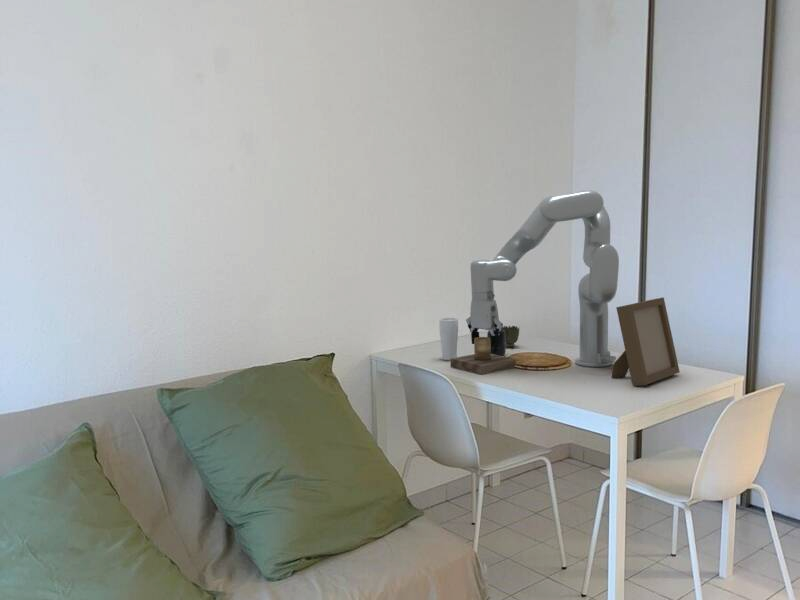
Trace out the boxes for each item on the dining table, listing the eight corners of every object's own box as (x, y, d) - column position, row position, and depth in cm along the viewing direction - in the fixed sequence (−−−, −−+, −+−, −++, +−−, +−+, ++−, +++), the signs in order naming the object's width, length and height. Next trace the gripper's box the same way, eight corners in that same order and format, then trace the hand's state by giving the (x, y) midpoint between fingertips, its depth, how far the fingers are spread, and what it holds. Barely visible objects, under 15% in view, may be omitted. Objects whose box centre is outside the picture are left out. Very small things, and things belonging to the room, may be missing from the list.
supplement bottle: (492, 357, 280) (492, 325, 278) (484, 354, 286) (483, 322, 285) (509, 355, 282) (508, 323, 281) (500, 352, 289) (499, 321, 287)
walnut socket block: (515, 367, 262) (515, 358, 262) (481, 374, 253) (481, 365, 253) (484, 360, 275) (484, 352, 275) (450, 367, 266) (450, 358, 265)
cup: (497, 346, 301) (497, 326, 299) (514, 344, 303) (514, 324, 302) (505, 349, 293) (505, 329, 292) (522, 348, 296) (522, 327, 295)
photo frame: (679, 375, 245) (680, 298, 242) (645, 388, 230) (645, 306, 227) (637, 369, 255) (637, 295, 252) (602, 381, 241) (602, 303, 238)
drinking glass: (437, 358, 280) (436, 318, 278) (453, 356, 283) (452, 316, 281) (445, 362, 274) (444, 321, 272) (461, 360, 277) (461, 319, 275)
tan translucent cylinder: (494, 366, 263) (494, 338, 262) (482, 369, 260) (481, 340, 259) (483, 364, 268) (482, 336, 267) (471, 366, 265) (470, 338, 263)
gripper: (508, 296, 256) (510, 346, 258) (473, 293, 270) (476, 340, 272) (492, 299, 252) (494, 350, 254) (458, 295, 265) (460, 343, 268)
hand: (485, 345), depth 263 cm, fingers open, 9 cm apart
